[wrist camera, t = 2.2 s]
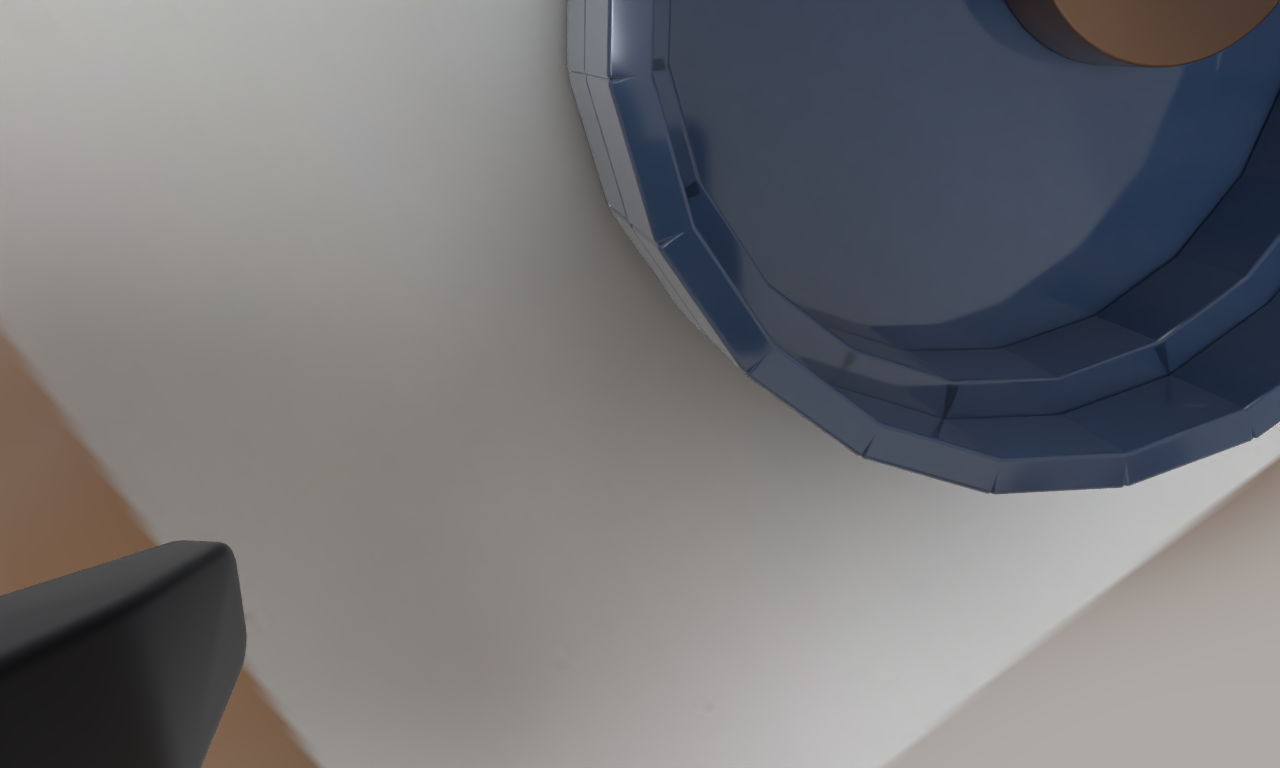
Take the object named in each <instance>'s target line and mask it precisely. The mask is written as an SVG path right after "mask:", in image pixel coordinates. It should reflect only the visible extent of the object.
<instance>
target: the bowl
mask: <svg viewBox="0 0 1280 768" xmlns="http://www.w3.org/2000/svg"><path fill="white" fill-rule="evenodd" d="M567 68H568V70H570V72H569V79H570V83H571V86H572V89H573V92H574V96H575V99H576V102H577V106H578V109H579V112H580V115H581V119H582V122H583V125H584V129H585V132H586V135H587V139H588V142H589V145H590V148H591V152H592V155H593V158H594V162H595V165H596V168H597V171H598V175H599V178H600V181H601V185H602V188H603V191H604V194H605V198H606V201H607V203H608V204H609V205H610V207H609V208H610V211H611V212H612V214H613V215H614V216H615V218H616V219H617V221H618V222H619V224H620V225H621V226H622V228H623V229H624V231H625V232H626V234H627V235H628V236H629V238H630V239H631V241H632V242H633V244H634V245H635V246H636V248H637V249H638V251H639V252H640V254H641V255H642V256H643V258H644V259H645V261H646V262H647V264H648V265H649V266H650V268H651V269H652V271H653V272H654V274H655V275H656V276H657V278H658V279H659V281H660V282H661V284H662V285H663V286H664V288H665V289H666V291H667V292H668V294H669V295H670V296H671V298H672V299H673V301H674V302H675V303H676V305H677V306H678V308H679V309H680V311H681V312H682V313H683V314H684V315H685V316H686V317H687V318H688V319H689V320H690V321H691V322H692V323H693V324H694V325H695V326H696V327H697V328H698V329H699V330H700V331H701V332H702V333H703V334H705V335H706V336H707V337H708V338H709V339H710V340H711V341H712V342H713V343H714V344H715V345H716V346H717V347H718V348H719V349H720V350H721V351H722V352H723V353H724V354H725V355H726V356H727V357H728V358H729V359H730V360H731V361H732V362H733V363H734V364H735V365H736V366H737V367H738V368H739V369H740V370H741V371H742V372H743V373H744V374H745V375H746V376H747V377H749V378H750V379H751V380H753V381H754V382H755V383H757V384H758V385H760V386H761V387H762V388H764V389H765V390H767V391H768V392H769V393H771V394H772V395H774V396H775V397H776V398H778V399H779V400H780V401H782V402H783V403H785V404H786V405H787V406H789V407H790V408H792V409H793V410H794V411H796V412H797V413H799V414H800V415H801V416H803V417H804V418H805V419H807V420H808V421H810V422H811V423H812V424H814V425H815V426H817V427H818V428H819V429H821V430H822V431H824V432H825V433H826V434H828V435H829V436H830V437H832V438H833V439H835V440H836V441H837V442H839V443H840V444H842V445H843V446H844V447H846V448H847V449H849V450H850V451H851V452H853V453H854V454H855V455H858V456H861V457H863V458H864V459H867V460H870V461H874V462H877V463H881V464H884V465H888V466H891V467H895V468H898V469H902V470H905V471H909V472H912V473H916V474H920V475H923V476H927V477H930V478H934V479H937V480H941V481H944V482H948V483H951V484H955V485H958V486H962V487H965V488H969V489H972V490H976V491H979V492H983V493H992V494H1008V493H1027V492H1045V491H1064V490H1082V489H1101V488H1119V487H1123V486H1124V485H1125V486H1130V485H1133V484H1135V483H1138V482H1141V481H1143V480H1146V479H1149V478H1152V477H1154V476H1157V475H1160V474H1162V473H1165V472H1168V471H1170V470H1173V469H1176V468H1178V467H1181V466H1184V465H1186V464H1189V463H1192V462H1195V461H1197V460H1200V459H1203V458H1205V457H1208V456H1211V455H1213V454H1216V453H1219V452H1221V451H1224V450H1227V449H1230V448H1232V447H1235V446H1238V445H1240V444H1243V443H1246V442H1248V441H1251V440H1252V439H1253V438H1257V437H1259V436H1260V435H1262V434H1263V433H1264V432H1266V431H1267V430H1269V429H1270V428H1271V427H1273V426H1274V425H1276V424H1277V423H1278V422H1280V2H1279V3H1278V4H1277V6H1276V7H1275V8H1274V9H1273V11H1272V12H1271V13H1270V14H1269V15H1268V16H1267V17H1266V18H1265V19H1264V20H1263V21H1262V22H1261V23H1260V24H1259V25H1258V26H1257V27H1256V28H1254V29H1253V30H1252V31H1251V32H1250V33H1248V34H1247V35H1246V36H1245V37H1243V38H1242V39H1241V40H1239V41H1238V42H1236V43H1234V44H1233V45H1231V46H1230V47H1228V48H1227V49H1225V50H1223V51H1221V52H1219V53H1217V54H1215V55H1213V56H1211V57H1208V58H1206V59H1203V60H1200V61H1197V62H1194V63H1191V64H1186V65H1180V66H1174V67H1157V68H1150V67H1124V66H1102V65H1094V64H1086V63H1083V62H1079V61H1076V60H1072V59H1069V58H1067V57H1065V56H1063V55H1061V54H1059V53H1057V52H1054V51H1053V50H1051V49H1050V48H1048V47H1047V46H1045V45H1044V44H1042V43H1041V42H1039V41H1038V40H1037V39H1036V38H1035V37H1034V36H1033V35H1032V34H1031V33H1030V32H1029V31H1027V30H1026V28H1025V27H1024V26H1023V25H1022V23H1021V22H1020V21H1019V20H1018V19H1017V17H1016V16H1015V15H1014V13H1013V12H1012V10H1011V8H1010V7H1009V5H1008V3H1007V2H1006V0H567Z"/></svg>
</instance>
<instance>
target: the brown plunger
mask: <svg viewBox="0 0 1280 768" xmlns="http://www.w3.org/2000/svg"><path fill="white" fill-rule="evenodd" d="M1006 2H1007V3H1008V5H1009V7H1010V8H1011V10H1012V12H1013V13H1014V15H1015V16H1016V17H1017V19H1018V20H1019V21H1020V22H1021V23H1022V25H1023V26H1024V27H1025V28H1026V30H1027V31H1029V32H1030V33H1031V34H1032V35H1033V36H1034V37H1035V38H1036V39H1037V40H1038V41H1039V42H1041V43H1042V44H1044V45H1045V46H1047V47H1048V48H1050V49H1051V50H1053V51H1054V52H1057V53H1059V54H1061V55H1063V56H1065V57H1067V58H1069V59H1072V60H1076V61H1079V62H1083V63H1086V64H1094V65H1102V66H1124V67H1150V68H1157V67H1174V66H1180V65H1186V64H1191V63H1194V62H1197V61H1200V60H1203V59H1206V58H1208V57H1211V56H1213V55H1215V54H1217V53H1219V52H1221V51H1223V50H1225V49H1227V48H1228V47H1230V46H1231V45H1233V44H1234V43H1236V42H1238V41H1239V40H1241V39H1242V38H1243V37H1245V36H1246V35H1247V34H1248V33H1250V32H1251V31H1252V30H1253V29H1254V28H1256V27H1257V26H1258V25H1259V24H1260V23H1261V22H1262V21H1263V20H1264V19H1265V18H1266V17H1267V16H1268V15H1269V14H1270V13H1271V12H1272V11H1273V9H1274V8H1275V7H1276V6H1277V4H1278V3H1279V2H1280V0H1006Z"/></svg>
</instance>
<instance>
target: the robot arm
mask: <svg viewBox="0 0 1280 768" xmlns="http://www.w3.org/2000/svg"><path fill="white" fill-rule="evenodd" d="M246 637H247V635H246V625H245V618H244V612H243V605H242V598H241V591H240V584H239V577H238V571H237V564H236V559H235V556H234V554H233V551H232V550H231V548H230V547H229V546H228V545H226V544H224V543H221V542H206V541H186V540H182V541H173V542H170V543H166V544H163V545H160V546H157V547H154V548H151V549H147V550H144V551H141V552H138V553H135V554H132V555H129V556H125V557H122V558H119V559H116V560H113V561H110V562H107V563H103V564H100V565H97V566H94V567H91V568H88V569H84V570H81V571H78V572H75V573H72V574H69V575H65V576H62V577H59V578H56V579H53V580H50V581H46V582H43V583H40V584H37V585H34V586H31V587H28V588H24V589H21V590H18V591H15V592H12V593H9V594H6V595H2V596H0V768H201V766H202V763H203V761H204V759H205V756H206V754H207V751H208V749H209V746H210V744H211V741H212V739H213V737H214V734H215V732H216V729H217V727H218V725H219V722H220V720H221V717H222V715H223V712H224V710H225V707H226V705H227V703H228V700H229V698H230V695H231V693H232V690H233V688H234V686H235V683H236V681H237V678H238V676H239V673H240V670H241V668H242V665H243V661H244V657H245V651H246Z"/></svg>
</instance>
